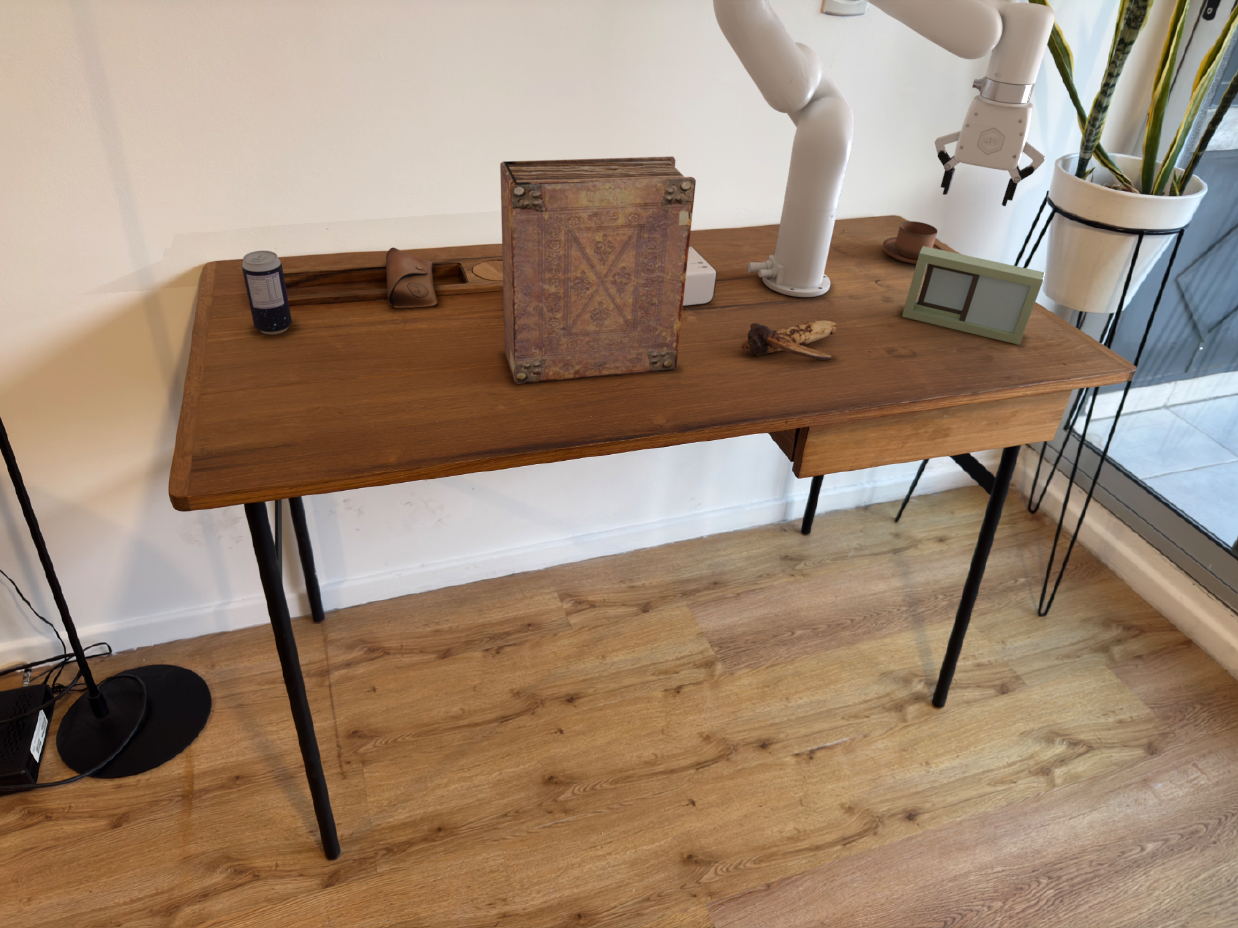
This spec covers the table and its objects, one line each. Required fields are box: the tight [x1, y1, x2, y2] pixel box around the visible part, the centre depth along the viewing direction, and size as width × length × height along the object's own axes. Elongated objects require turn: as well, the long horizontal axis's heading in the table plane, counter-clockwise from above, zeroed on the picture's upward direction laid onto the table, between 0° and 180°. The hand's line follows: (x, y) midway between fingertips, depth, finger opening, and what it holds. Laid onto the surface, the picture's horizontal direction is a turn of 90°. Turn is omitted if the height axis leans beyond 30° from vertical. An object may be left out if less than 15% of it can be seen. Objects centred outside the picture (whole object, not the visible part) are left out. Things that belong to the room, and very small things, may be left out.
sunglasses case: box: [385, 247, 438, 309], centre depth 154 cm, size 18×7×7 cm, turn 14°
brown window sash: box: [917, 264, 974, 315], centre depth 156 cm, size 9×7×8 cm
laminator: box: [683, 246, 718, 308], centre depth 154 cm, size 34×12×6 cm, turn 110°
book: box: [499, 155, 697, 385], centre depth 128 cm, size 25×9×30 cm, turn 106°
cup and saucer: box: [882, 220, 943, 265], centre depth 177 cm, size 12×12×6 cm
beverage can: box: [241, 250, 293, 335], centre depth 136 cm, size 6×6×12 cm
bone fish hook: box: [741, 319, 838, 361], centre depth 143 cm, size 9×5×18 cm
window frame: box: [901, 246, 1045, 346], centre depth 152 cm, size 20×4×12 cm, turn 65°
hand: (974, 198), depth 149 cm, fingers open, 9 cm apart
